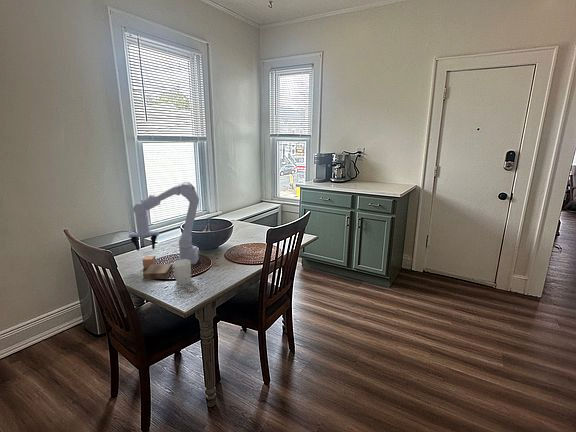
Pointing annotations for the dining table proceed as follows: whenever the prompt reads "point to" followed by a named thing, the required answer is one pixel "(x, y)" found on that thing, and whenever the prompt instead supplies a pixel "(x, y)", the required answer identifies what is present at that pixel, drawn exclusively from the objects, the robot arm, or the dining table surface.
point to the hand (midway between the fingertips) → (146, 249)
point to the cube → (148, 261)
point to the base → (158, 271)
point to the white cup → (182, 271)
